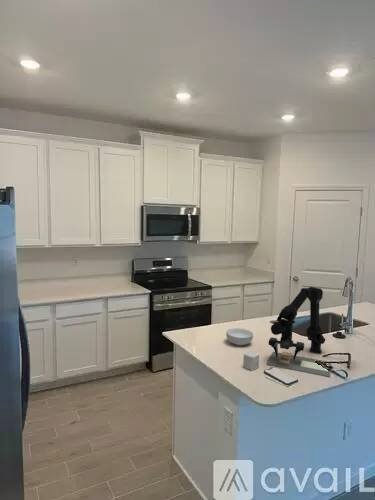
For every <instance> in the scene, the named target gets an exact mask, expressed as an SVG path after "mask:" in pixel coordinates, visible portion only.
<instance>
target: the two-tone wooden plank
mask: <svg viewBox="0 0 375 500" xmlns="http://www.w3.org/2000/svg"><path fill="white" fill-rule="evenodd" d="M281 353H282V354H281V356H280V359H279V364H284V365H289V362H290V360H291V355H293V354H292V352H289V351H282V352H281Z"/></svg>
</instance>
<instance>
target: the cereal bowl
mask: <svg viewBox="0 0 375 500" xmlns="http://www.w3.org/2000/svg"><path fill="white" fill-rule="evenodd" d="M225 334H226V339H227V341H228V342H230V343H231V344H234V345H235V344H236V346H245V345H248V344H251V342H252V341H253V339H254V333H253V331H252V330H249V329H245V328H241V327H240V328H238V327H237V328H236V327H235V328H228V329H227V330H226V332H225Z"/></svg>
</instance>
